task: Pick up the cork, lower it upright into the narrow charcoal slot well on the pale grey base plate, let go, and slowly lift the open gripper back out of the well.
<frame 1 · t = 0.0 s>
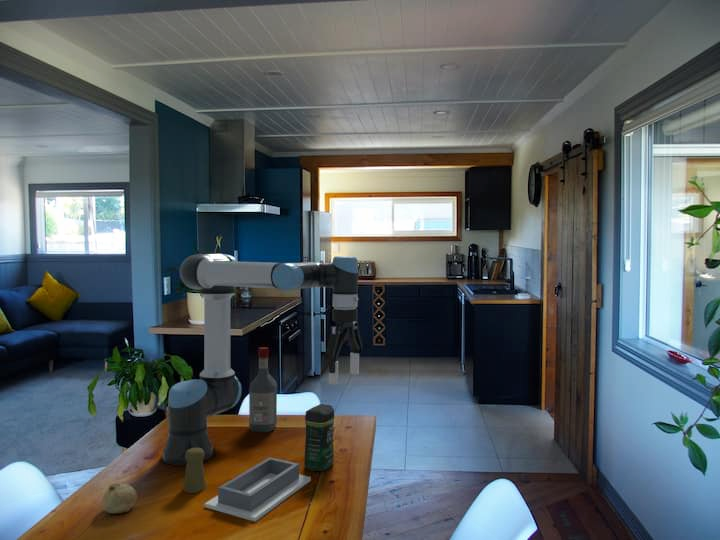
hand: (344, 378, 158), 28 cm above the table, tool pointing down, fingers open, 13 cm apart
onion: (119, 511, 134), on the table
slot well: (260, 493, 144), on the table
coffee jar: (319, 466, 163), on the table
cork: (194, 488, 147), on the table
liquor: (263, 428, 196), on the table
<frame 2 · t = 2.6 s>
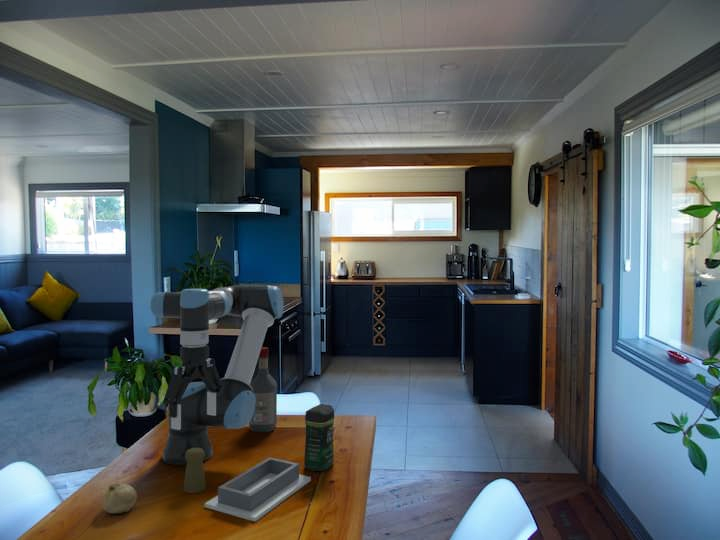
hand: (194, 421, 146), 19 cm above the table, tool pointing down, fingers open, 13 cm apart
nothing on the table moved.
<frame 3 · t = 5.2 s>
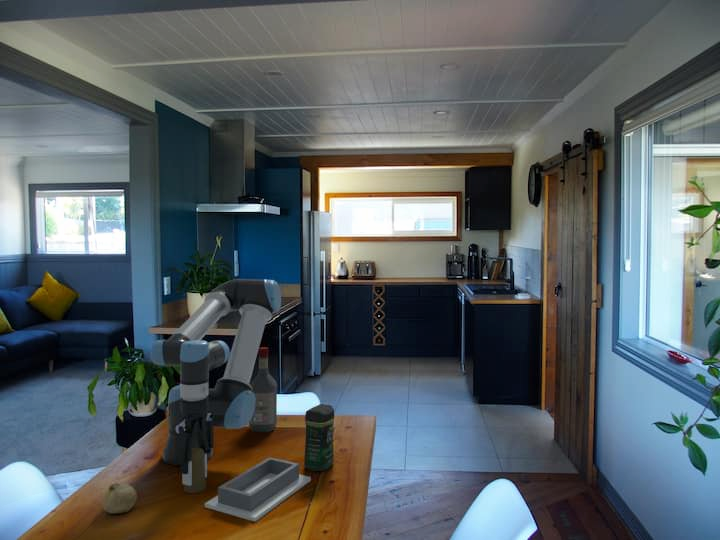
hand: (194, 480, 146), 2 cm above the table, tool pointing down, fingers closed on cork, 5 cm apart
cork: (194, 488, 147), on the table, touching gripper
everything else where it was.
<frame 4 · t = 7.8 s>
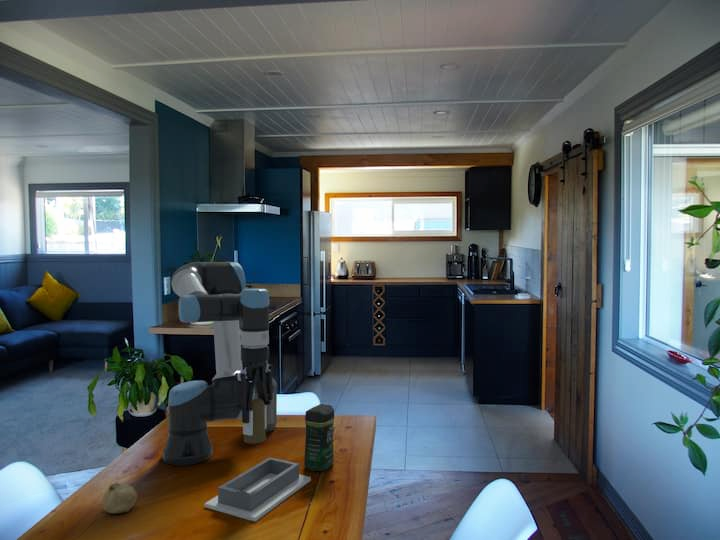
hand: (254, 431, 143), 17 cm above the table, tool pointing down, fingers closed on cork, 5 cm apart
cork: (254, 440, 143), point 15 cm above the table, touching gripper
everything else where it was.
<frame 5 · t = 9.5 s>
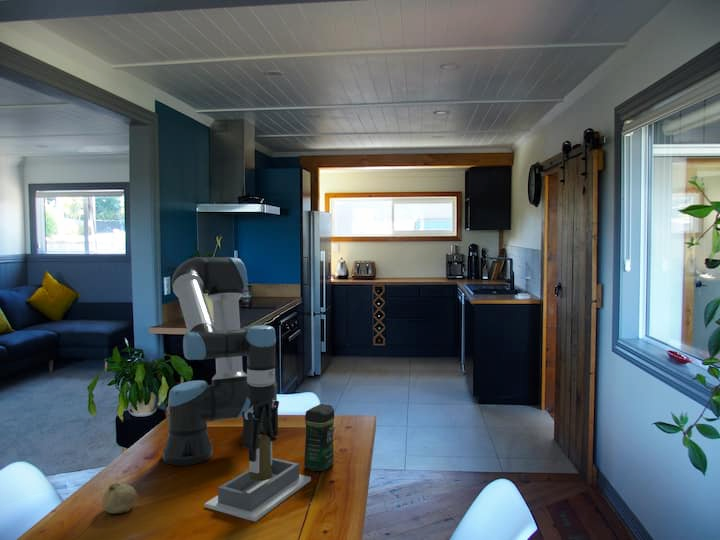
hand: (261, 467, 144), 7 cm above the table, tool pointing down, fingers closed on cork, 5 cm apart
cork: (260, 476, 144), point 5 cm above the table, touching gripper
everything else where it was.
when the fingers open (4 cm above the table, at t = 10.8 s): cork stays where it is, resting on slot well.
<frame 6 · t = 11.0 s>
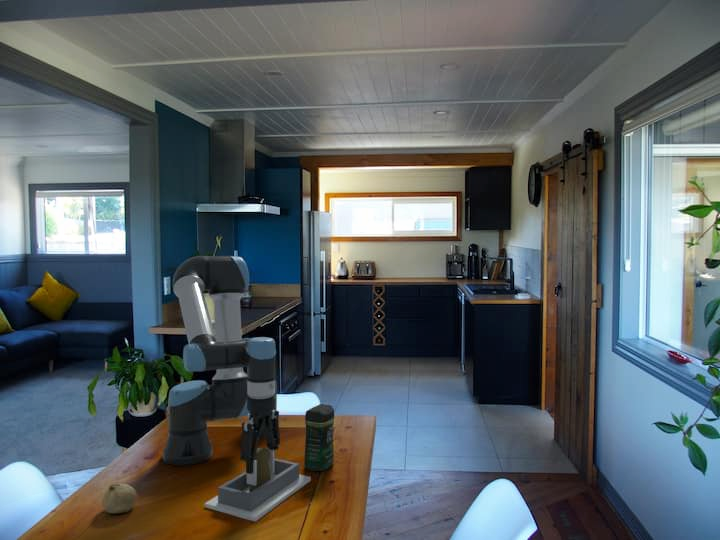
hand: (260, 478, 144), 4 cm above the table, tool pointing down, fingers open, 7 cm apart
cork: (260, 489, 144), point 1 cm above the table, touching slot well
everything else where it was.
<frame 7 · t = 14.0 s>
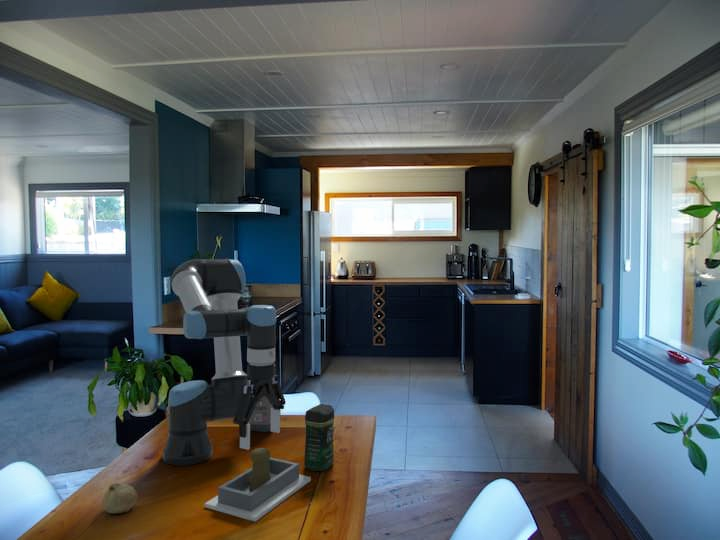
hand: (260, 439, 144), 15 cm above the table, tool pointing down, fingers open, 13 cm apart
nothing on the table moved.
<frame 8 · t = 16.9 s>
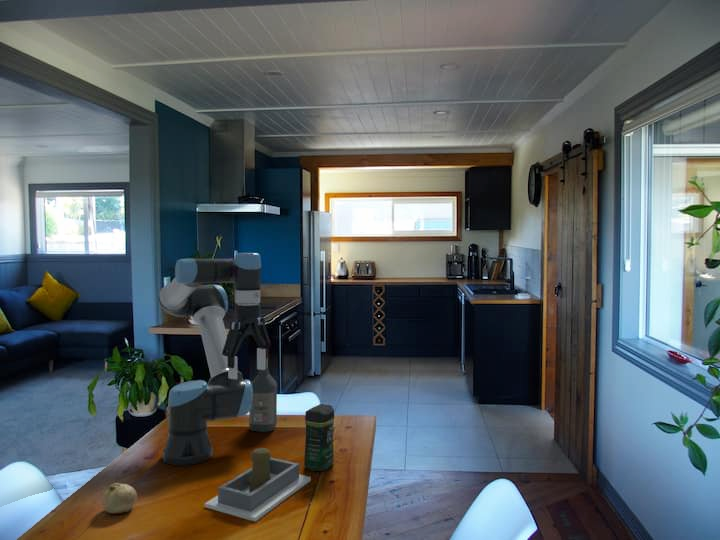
hand: (247, 373, 160), 29 cm above the table, tool pointing down, fingers open, 13 cm apart
nothing on the table moved.
at the end: cork inside the target area on the slot well (0.1 cm from its centre), point 0.8 cm above the slot well's base; cork tilted 0°; the gripper is holding nothing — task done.
